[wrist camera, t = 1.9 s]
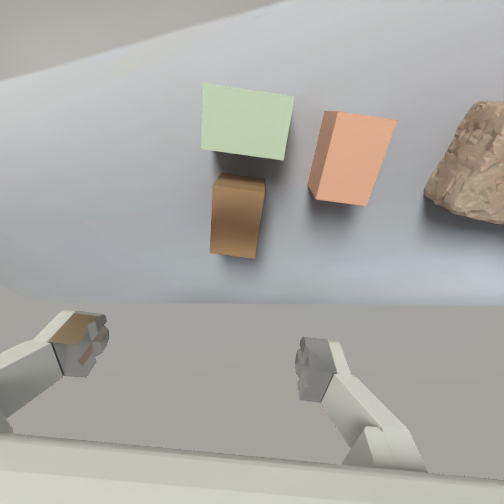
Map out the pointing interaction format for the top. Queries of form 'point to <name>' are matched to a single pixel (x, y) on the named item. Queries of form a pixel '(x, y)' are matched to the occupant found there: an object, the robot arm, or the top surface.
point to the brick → (473, 167)
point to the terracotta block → (349, 156)
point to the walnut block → (236, 215)
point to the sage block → (245, 121)
